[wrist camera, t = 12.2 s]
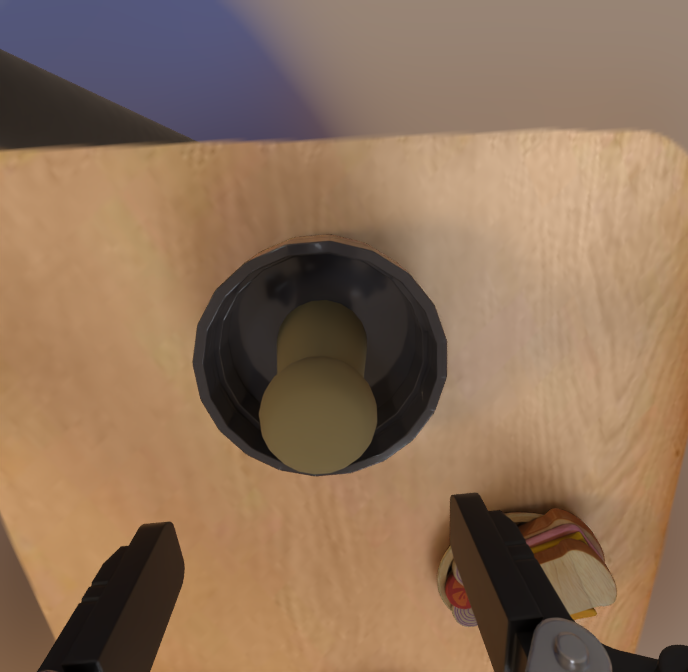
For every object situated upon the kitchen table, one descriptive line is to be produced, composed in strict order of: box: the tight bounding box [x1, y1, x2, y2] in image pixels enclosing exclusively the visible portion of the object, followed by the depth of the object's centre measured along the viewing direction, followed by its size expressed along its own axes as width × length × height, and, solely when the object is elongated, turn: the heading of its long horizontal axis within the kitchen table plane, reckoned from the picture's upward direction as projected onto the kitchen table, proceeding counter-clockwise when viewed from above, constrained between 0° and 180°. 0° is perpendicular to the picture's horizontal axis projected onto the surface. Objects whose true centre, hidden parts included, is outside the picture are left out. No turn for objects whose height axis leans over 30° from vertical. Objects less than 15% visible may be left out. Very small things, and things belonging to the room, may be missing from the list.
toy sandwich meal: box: [437, 508, 617, 627], centre depth 32 cm, size 12×14×5 cm
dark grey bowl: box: [193, 234, 447, 476], centre depth 24 cm, size 14×14×5 cm
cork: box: [259, 300, 377, 474], centre depth 21 cm, size 6×6×11 cm
